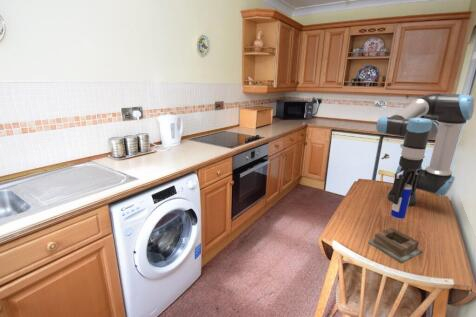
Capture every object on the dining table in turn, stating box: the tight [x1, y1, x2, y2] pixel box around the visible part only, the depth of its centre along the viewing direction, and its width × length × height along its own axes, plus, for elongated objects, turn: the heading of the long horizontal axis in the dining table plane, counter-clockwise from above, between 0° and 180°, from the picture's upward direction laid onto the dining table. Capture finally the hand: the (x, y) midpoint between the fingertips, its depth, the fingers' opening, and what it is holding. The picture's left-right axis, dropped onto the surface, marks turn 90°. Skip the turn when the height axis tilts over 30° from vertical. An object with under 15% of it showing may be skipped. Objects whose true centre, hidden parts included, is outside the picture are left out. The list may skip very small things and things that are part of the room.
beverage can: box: [390, 183, 412, 220], centre depth 105 cm, size 5×5×15 cm
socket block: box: [368, 227, 424, 264], centre depth 110 cm, size 15×15×5 cm
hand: (399, 208), depth 106 cm, fingers closed on beverage can, 5 cm apart
